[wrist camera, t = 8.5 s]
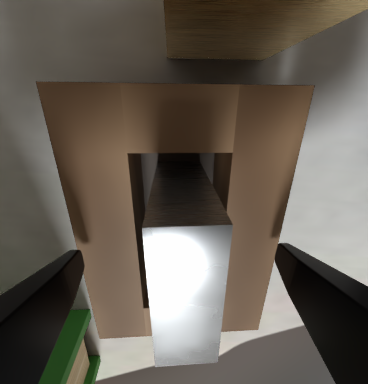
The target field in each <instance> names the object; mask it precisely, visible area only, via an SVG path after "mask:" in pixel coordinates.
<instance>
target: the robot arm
mask: <svg viewBox="0 0 368 384" xmlns="http://www.w3.org/2000/svg"><path fill="white" fill-rule="evenodd" d="M275 263H276V265H277V268H278V270H279V273H280V275H281V278H282V280H283V283H284V285H285V288H286V290H287V292H288V294H289V296H290V298H291V300H292V302H293V304H294V306H295V308H296V310H297V311H298V313H299V315H300V317H301V319H302V321H303V323H304V325H305V327H306V328H307V330H308V332H309V334H310V336H311V338H312V340H313V342H314V344H315V346H316V347H317V349H318V351H319V353H320V355H321V357H322V359H323V361H324V362H325V364H326V366H327V368H328V370H329V372H330V374H331V376H332V378H333V380H334V381H335V383H336V384H368V286H366V285H364V284H362V283H360V282H358V281H357V280H355V279H353V278H351V277H349V276H347V275H346V274H344V273H342V272H340V271H338V270H336V269H334V268H333V267H331V266H329V265H327V264H325V263H323V262H322V261H320V260H318V259H316V258H314V257H312V256H311V255H309V254H307V253H305V252H303V251H301V250H300V249H298V248H296V247H294V246H292V245H290V244H288V243H279V244H278V245H277V249H276V253H275ZM84 268H85V264H84V259H83V255H82V252H81V250H70V251H68V252H67V253H65V254H64V255H62V256H61V257H59V258H57V259H56V260H54V261H53V262H51V263H50V264H48V265H47V266H45V267H44V268H42V269H41V270H39V271H37V272H36V273H34V274H33V275H31V276H30V277H28V278H27V279H25V280H24V281H22V282H20V283H19V284H17V285H16V286H14V287H13V288H11V289H10V290H8V291H7V292H5V293H3V294H2V295H0V384H38V383H39V381H40V379H41V376H42V374H43V372H44V370H45V367H46V365H47V363H48V360H49V358H50V356H51V354H52V351H53V349H54V347H55V344H56V342H57V340H58V338H59V335H60V333H61V331H62V328H63V326H64V324H65V322H66V319H67V317H68V315H69V312H70V310H71V308H72V305H73V303H74V300H75V297H76V294H77V291H78V288H79V284H80V281H81V278H82V275H83V272H84Z"/></svg>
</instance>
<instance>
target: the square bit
mask: <svg viewBox="0 0 368 384" xmlns="http://www.w3.org/2000/svg"><path fill="white" fill-rule="evenodd" d="M366 9H368V0H164V12H165V27H166V43H167V58H191V59H238V60H264V59H266V58H268V57H270V56H272V55H274V54H276V53H278V52H280V51H282V50H284V49H286V48H289V47H291V46H293V45H295V44H297V43H299V42H301V41H303V40H305V39H307V38H309V37H311V36H313V35H315V34H317V33H319V32H321V31H323V30H325V29H328V28H330V27H332V26H334V25H336V24H338V23H340V22H342V21H344V20H346V19H348V18H350V17H352V16H354V15H356V14H358V13H360V12H362V11H364V10H366Z"/></svg>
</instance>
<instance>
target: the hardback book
mask: <svg viewBox="0 0 368 384" xmlns="http://www.w3.org/2000/svg"><path fill="white" fill-rule="evenodd" d="M90 319H91V313H90V309H86V310H70V312H69V315H68V317H67V319H66V322H65V324H64V326H63V328H62V331H61V333H60V335H59V338H58V340H57V342H56V344H55V347H54V349H53V351H52V354H51V356H50V358H49V360H48V363H47V365H46V367H45V370H44V372H43V374H42V376H41V379H40V381H39V383H38V384H95V380H96V376H97V373H98V369H99V365H100V362H101V361H100V356H88V355H87V351H86V347H85V343H84V339H83V337H84V335H85V332H86V330H87V327H88V324H89V322H90Z"/></svg>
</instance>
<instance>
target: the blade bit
mask: <svg viewBox="0 0 368 384" xmlns="http://www.w3.org/2000/svg"><path fill="white" fill-rule="evenodd" d="M232 230H233V224H232V222H231V220H230V218H229V216H228V214H227V212H226V210H225V208H224V206H223V204H222V203H221V201H220V199H219V197H218V195H217V193H216V191H215V189H214V187H213V185H212V183H211V181H210V179H209V178H208V176H207V174H206V172H205V170H204V168H203V166H202V164H201V162H200V161H157V166H156V170H155V174H154V178H153V183H152V187H151V191H150V195H149V200H148V204H147V208H146V212H145V217H144V221H143V225H142V234H143V245H144V255H145V265H146V276H147V286H148V296H149V307H150V317H151V328H152V338H153V348H154V359H155V367H160V366H175V365H188V364H203V363H216V362H218V355H219V346H220V337H221V328H222V319H223V310H224V301H225V292H226V283H227V275H228V266H229V257H230V248H231V239H232Z"/></svg>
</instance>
